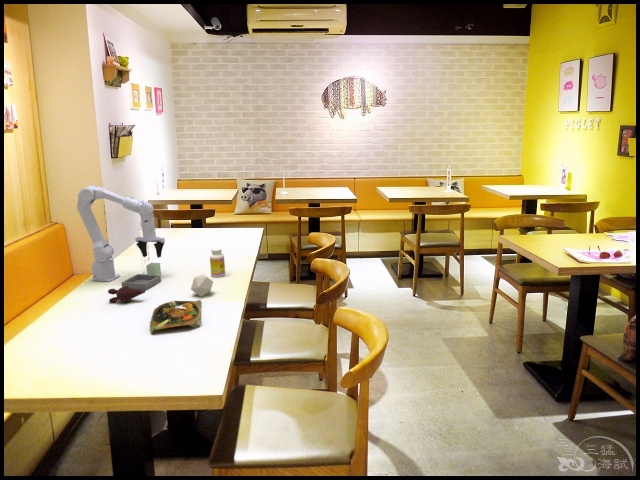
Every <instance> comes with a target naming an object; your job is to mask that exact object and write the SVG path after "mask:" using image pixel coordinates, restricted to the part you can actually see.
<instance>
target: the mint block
mask: <svg viewBox="0 0 640 480" xmlns="http://www.w3.org/2000/svg"><path fill="white" fill-rule="evenodd" d="M145 266H146V267H145V268H146V275H159V276H162V269H161V262H150V263H148V264H146V265H145Z"/></svg>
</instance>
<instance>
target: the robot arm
mask: <svg viewBox="0 0 640 480" xmlns="http://www.w3.org/2000/svg"><path fill="white" fill-rule="evenodd" d="M102 199H105V200H108V201H111V202H114V203H117V204H121V205H122V207H123V209H126V210H129V211H131V212H134V213H136V214H138V215H139V216H140V223H141V230H142V236H137V237H135V238H134V239H135V243H136V244H135V245H136V246H137V247H138V249H139V250H140V253H141V254H142V257H143V258H146V257H147V256H148V249H147V248H148V247H147V245H148V243H153V246H154V248H155V249H154V250H155V251H156V257H157V258H158V259H159V258H161V257H162V252H163V248H164V246H165V242H166V240H165V239H166V238H164V237H160V236H159V237H158V236H157V235H156V234H157V233H156V225H155V218H154V209H155V208H154V205H153V204H152V203H150V202H148V201H146V202H145V201H144V200H140V199H137V198H135V197H134V196H133V195H131V196H126V197H125V196H121V195H120V194H117V193H115V192H113V191H111V190H108V189H105V188H104V187H102V186H97V185H95V184H91V185H88V186H86V187H83V188H82V189H80V191H79V192H78V194H77V203H76V210H77V211H78V213H79V216H80V217H81V220H82V222H83V224H84V227H85V229H86V230H87V233H88V235H89V237H90V239H91V242H92V251H93V253H94V254H93V256H94V257H93V258H94V261H92V264H91V272H92V279H91V280H92V281H97V282H111V281H113V280H115V279H118V278H120V275H117V274H116V271H115V262H114V257H113V255H114V253H115V251H114V250H115V249H114V247H113V246H112V245H111V244H109V243H110V242H109V241H108V240H107V239H105V237H104V234H103V233H102V230H101V228H100V225H99V224H98V222H97V219H96V217H95V214H94V212H93V210H92V205H93V203H94V202H95V201H96V200H102Z"/></svg>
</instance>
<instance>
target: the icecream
mask: <svg viewBox="0 0 640 480" xmlns="http://www.w3.org/2000/svg"><path fill="white" fill-rule="evenodd" d="M145 293H146V291H145V290H138V289H133V288H129V286H124V287H122V286H121V287H120V288H118V289H115V287H114V288H109V289H108V290H107V294H110V295H115V296H113V297H111V298H109V300H108V302H109V303H111V304H112V303H116V302H118V301H119V302H122V303H127V302H128V303H130V302H131V300H132V299H134V298H136V297H138V296H141V295H143V294H145Z"/></svg>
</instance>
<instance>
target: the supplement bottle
mask: <svg viewBox="0 0 640 480" xmlns="http://www.w3.org/2000/svg"><path fill="white" fill-rule="evenodd" d="M222 251H223V250H222V247H213V248H212V249H211V254H210V255H209V264H210V275H211V276H212V277H214V278H220V277H223V276H225V275H226V265H225V264H226V263H225V255H224V253H222Z"/></svg>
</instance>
